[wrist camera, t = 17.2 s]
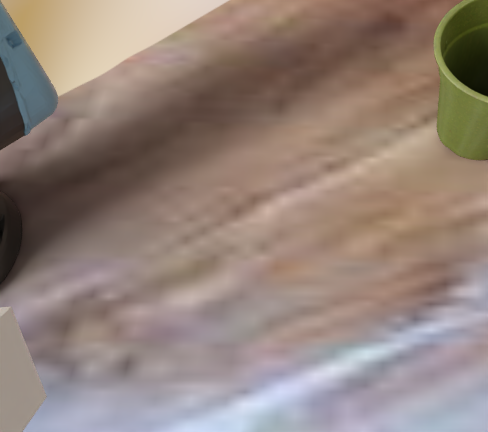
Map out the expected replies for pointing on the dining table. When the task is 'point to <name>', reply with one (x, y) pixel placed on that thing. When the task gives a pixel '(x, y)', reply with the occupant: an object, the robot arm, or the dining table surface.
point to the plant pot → (463, 79)
